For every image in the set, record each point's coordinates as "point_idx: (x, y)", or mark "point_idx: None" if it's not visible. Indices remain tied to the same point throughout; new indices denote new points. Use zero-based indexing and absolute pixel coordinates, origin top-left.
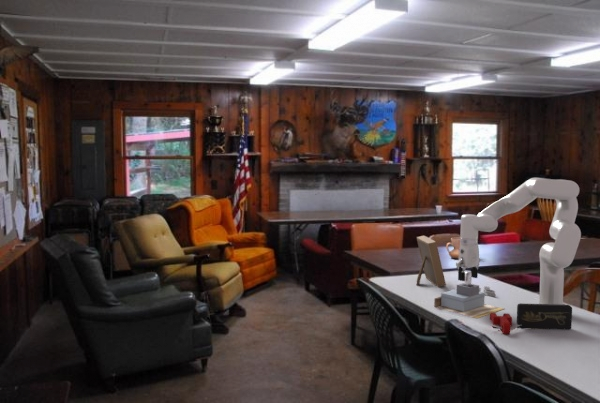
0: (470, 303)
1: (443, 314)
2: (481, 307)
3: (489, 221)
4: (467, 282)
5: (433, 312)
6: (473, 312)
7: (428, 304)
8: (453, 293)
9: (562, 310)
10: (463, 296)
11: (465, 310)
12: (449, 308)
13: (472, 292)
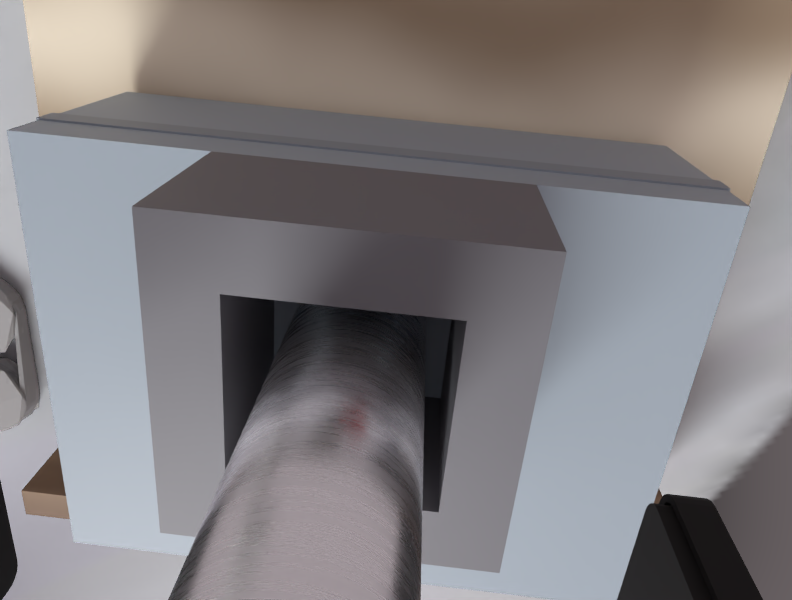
0: (501, 148)
1: (749, 338)
2: (231, 80)
3: None
4: (417, 444)
5: (738, 447)
6: (571, 31)
7: (479, 596)
8: (519, 484)
9: None
10: (603, 282)
11: (620, 143)
12: None
13: (446, 197)
